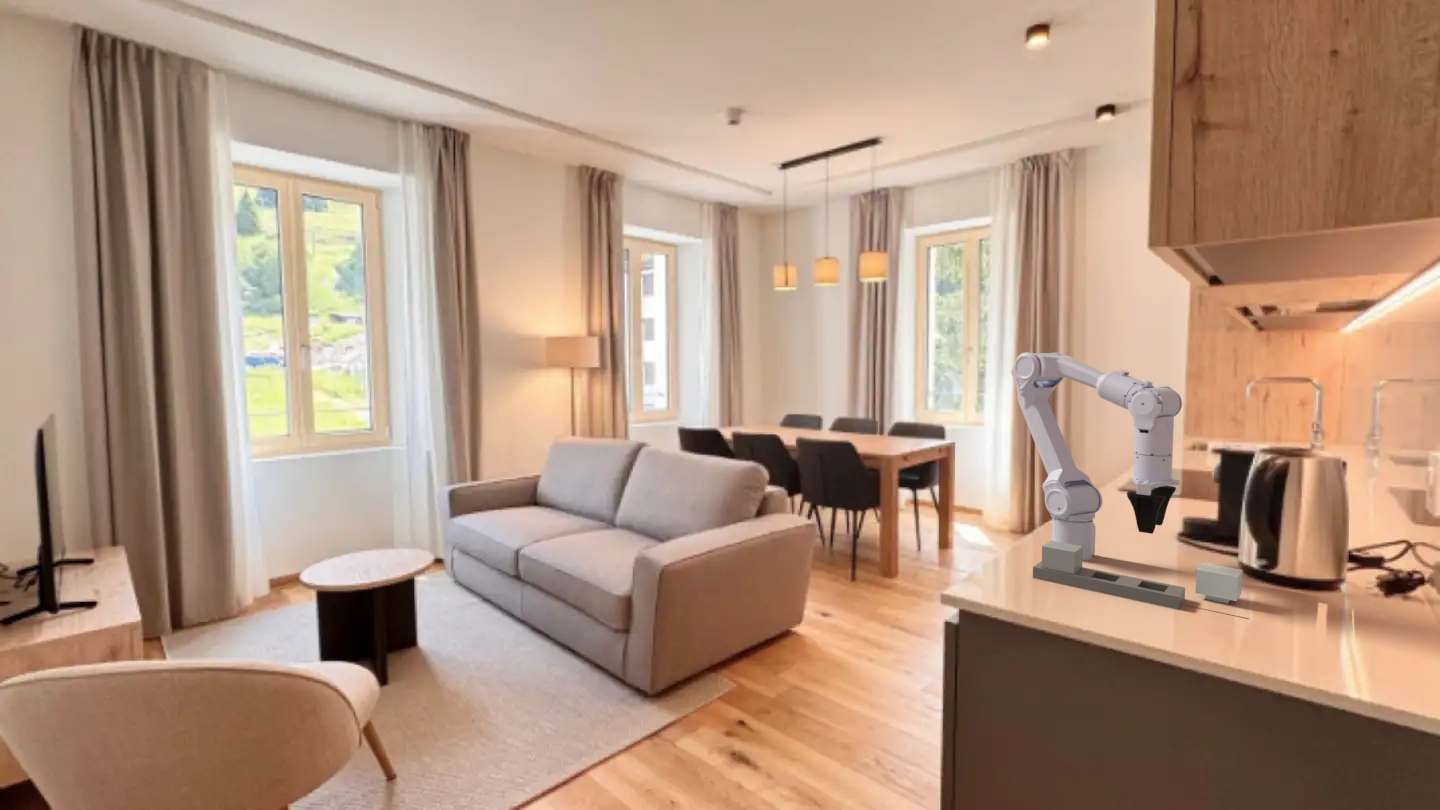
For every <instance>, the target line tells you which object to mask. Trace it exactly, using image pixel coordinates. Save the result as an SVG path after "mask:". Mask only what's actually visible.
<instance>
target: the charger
mask: <svg viewBox="0 0 1440 810" xmlns="http://www.w3.org/2000/svg"><path fill="white" fill-rule="evenodd" d="M1195 573H1196V574H1195V593H1196V594H1198V595H1205V597H1204V599H1205V600H1209V601H1211V602H1212V601H1213V602H1217V603H1222V604H1226V605H1227V604H1230V602H1231V601H1233V602H1237V601H1239V599H1240V597H1241V595H1242V588H1243V587H1242V586H1243V569H1239V568H1236V567H1235V568H1233V567H1229V566H1223V565H1217V564H1213V563H1206V562H1201V563H1200V564H1199V566H1198V567H1197V568H1196V572H1195Z"/></svg>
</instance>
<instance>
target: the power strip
mask: <svg viewBox="0 0 1440 810" xmlns="http://www.w3.org/2000/svg"><path fill="white" fill-rule="evenodd" d="M1082 559H1083V546H1079V545H1073V544H1068V543H1062V542H1056V541H1052V540H1050V541H1048V542H1046V543H1044V544H1043V545H1042V546H1041V561H1039V562H1038V563H1036V564H1034V566H1032V578H1033V579H1035V580H1036V579H1037V580H1041V581H1044V582H1045V581H1046V582H1050V583H1055V584H1060V585H1064V586H1067V587H1072V588H1077V589H1081V590H1087V591H1091V592H1096V593H1101V594H1104V595H1110V596H1114V597H1119V598H1123V599H1127V600H1132V601H1137V602H1142V603H1144V604H1145V603H1146V604H1150V605H1156V606H1160V607H1164V608H1169V609H1173V610H1179V609H1180V608H1181V606H1182V604H1183V603H1184V601H1185V600H1186V587H1185V586H1181V585H1180V586H1179V585H1175V584H1169V583H1164V582H1159V581H1154V580H1149V579H1145V578H1138V577H1133V576H1128V575H1123V574H1118V573H1113V572H1108V571H1103V570H1098V569H1093V568H1088V567H1085V566H1084V567H1083V560H1082ZM1183 606H1185V607H1189V608H1194V609H1198V610H1203V611H1209V612H1214V613H1217V614H1223V615H1227V616H1230V617H1231V616H1232V617H1235V618H1237V617H1238V618H1241V619H1246V620H1249V619H1250V618H1248V617H1243V616H1239V615H1235V614H1229V613H1225V612H1221V611H1215V610H1211V609H1207V608H1202V607H1197V606H1192V605H1188V604H1183Z"/></svg>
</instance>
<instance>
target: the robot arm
mask: <svg viewBox="0 0 1440 810" xmlns="http://www.w3.org/2000/svg"><path fill="white" fill-rule="evenodd" d="M1010 372H1011V375H1012V378H1013V380H1014V382H1015V386H1016V396H1017V402H1018V405H1019V406H1020V410H1021V412H1022V415H1023V417H1024V420H1025V423H1026V424H1027V427H1028V430H1029V432H1030V434H1031V436H1032V439H1033V442H1034V444H1035V447H1036V449H1037V451H1038V454H1039V456H1040V459H1041V461H1042V464H1043V466H1044V468H1045V471H1046V473H1047V478H1046V479H1045V481H1044V482H1043V483H1042V485H1041V488H1042V490H1043V492H1044V504H1045V505H1044V506H1045V507H1046V510H1047V511H1048V512H1049V514H1050V517H1051V518H1052V528H1051V529H1052V533H1051V534H1052V536H1051V541H1056V542H1062V543H1068V544H1073V545H1079V546H1083V559H1082V561H1089V560H1091V559H1092V558H1093V557H1092V556H1098V557H1100V555H1098V554H1096V553H1095V552H1096V524H1095V522H1094V519H1095V518H1096V513H1098V512H1099V511H1100V510H1101V508H1102V507H1103V497H1102V493H1101V492H1100V490H1099V489H1098V488H1097V487H1096V486H1095V485H1094V483H1092V481H1091V479H1090V477H1089V475H1087V474H1086V473H1085V472H1083V471H1081V470H1080V469H1079V468H1077V466H1076V464H1075V461H1074V459H1073V456H1072V455H1071V452H1070V449H1069V447H1068V444H1067V443H1066V441H1065V440H1066V439H1065V438H1064V436H1063V433H1062V431H1061V429H1060V426H1059V424H1058V422H1057V419H1056V417H1055V415H1054V413H1053V410H1052V407H1051V405H1050V403H1049V397H1050V396H1051V395H1052V393H1053V392H1054V391H1055V390H1056V388H1057V387H1058V386H1059V385H1060V384H1061V383H1062V382H1063V379H1065V378H1066V379H1069V380H1072V381H1074V382H1077V383H1080V384H1082V385H1085V386H1088V387H1091V388H1093V389H1096V390H1097V394H1098V396H1099V398H1101V399H1103V400H1105V401H1107V402H1110V403H1112V404H1114V405H1116V406H1118V407H1121V408H1123V409H1125V410H1128V412H1129V413H1130V415H1131V416H1132V418H1133V426H1134V449H1133V450H1134V453H1133V454H1134V455H1133V475H1132V477H1131V481H1132V482H1133V483H1134V484H1135V485H1136V491H1135V490H1128V491H1126V496H1127V498H1128V500H1129V501H1130V504H1131V506H1132V509H1133V513H1134V515H1135V520H1136V521H1135V522H1136V525H1137V530H1138V532H1139V533H1145V534H1151V535H1153V534H1154V531H1155V529H1156V527H1157V526H1159V527H1160V526H1162V525H1163V523H1164V520H1165V516H1166V512H1167V509H1168V505H1169V502H1170V500H1171V498H1172V496H1173V495H1174V493H1175V492H1176V490H1177V487H1176V486H1179V485H1180V484H1181V482H1180V479H1173V473H1172V472H1173V450H1174V426H1175V424H1174V423H1175V417H1176V416H1177V415H1178V414H1179V413H1180V412H1181V410H1182V406H1183V401H1182V397H1181V395H1180V394H1179V393H1178V392H1177V391H1176V390H1174V389H1173V388H1172V387H1170V386H1159V387H1155V386H1154V385H1153V382H1152V381H1150V380H1140V379H1138V378H1135V377H1133V376H1130V372H1129V371H1128V370H1123V369H1122V370H1121V369H1120V370H1118V371H1117V370H1113V371H1109V372H1107V373H1105V372H1103V371H1100V370H1099V369H1097V368H1094V367H1092V366H1090V365H1088V364H1087V363H1086V364H1085V363H1083V362H1081V361H1079V360H1078V359H1075V358H1073V357H1071V356H1070V355H1066V354H1063V353H1061V352H1057V351H1056V352H1048V353H1047V352H1032V353H1031V352H1030V351H1028V352H1022V353H1020V354H1018V356H1017V357H1016V358H1015V361H1014V363H1013V366H1012V368H1011V371H1010Z"/></svg>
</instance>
